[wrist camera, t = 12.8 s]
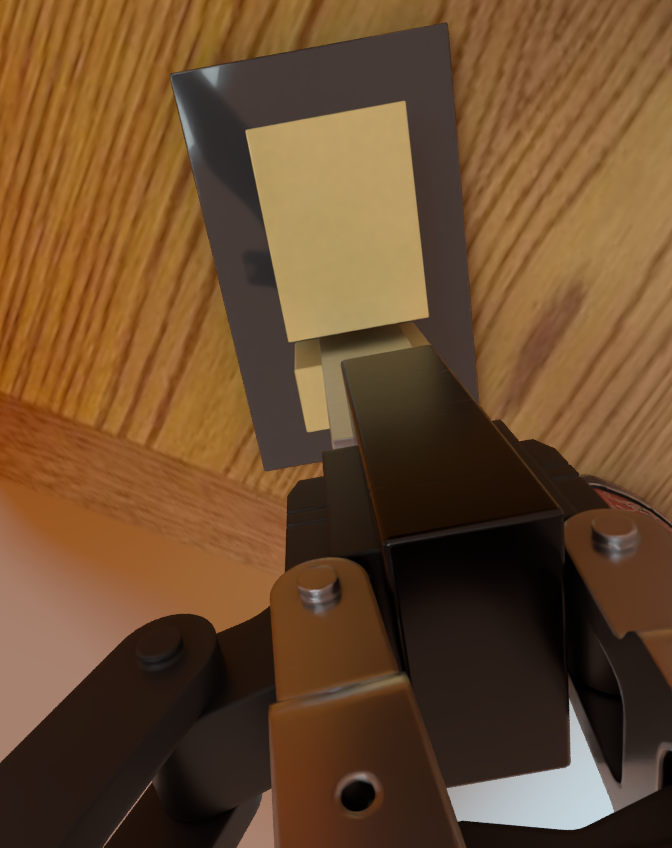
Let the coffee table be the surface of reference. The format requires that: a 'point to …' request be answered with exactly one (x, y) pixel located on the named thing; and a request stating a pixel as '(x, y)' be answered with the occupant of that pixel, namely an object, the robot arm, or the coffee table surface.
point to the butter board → (243, 219)
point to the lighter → (626, 500)
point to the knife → (458, 556)
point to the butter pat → (313, 382)
